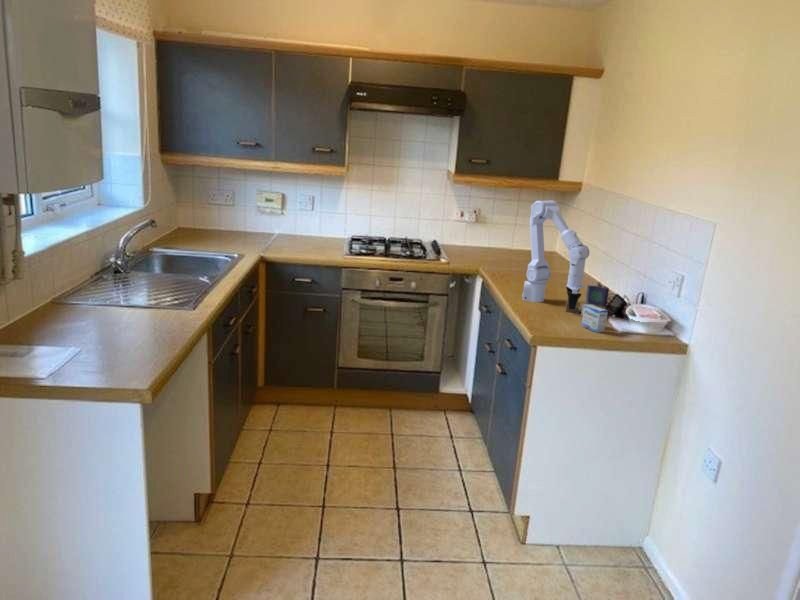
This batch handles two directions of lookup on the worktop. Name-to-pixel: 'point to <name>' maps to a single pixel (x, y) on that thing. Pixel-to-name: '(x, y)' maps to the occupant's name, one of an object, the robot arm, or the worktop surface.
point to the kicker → (571, 309)
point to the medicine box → (594, 318)
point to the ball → (582, 307)
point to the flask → (597, 294)
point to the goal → (583, 309)
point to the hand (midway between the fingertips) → (571, 306)
